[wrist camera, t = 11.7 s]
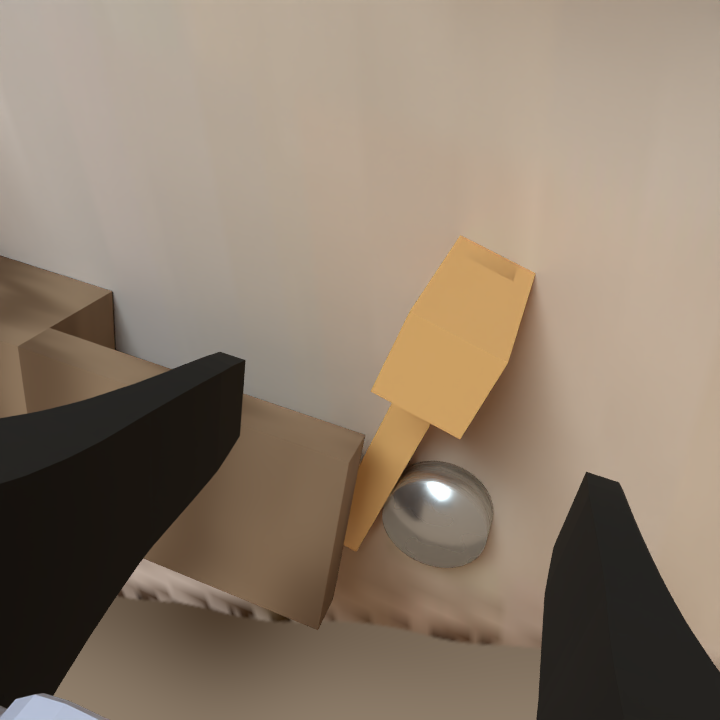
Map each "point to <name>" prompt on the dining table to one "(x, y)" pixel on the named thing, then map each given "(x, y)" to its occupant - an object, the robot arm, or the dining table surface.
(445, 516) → the steel puck
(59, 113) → the dining table surface
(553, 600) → the robot arm
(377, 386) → the light wooden mallet
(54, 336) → the walnut l-shaped block
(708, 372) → the dining table surface
